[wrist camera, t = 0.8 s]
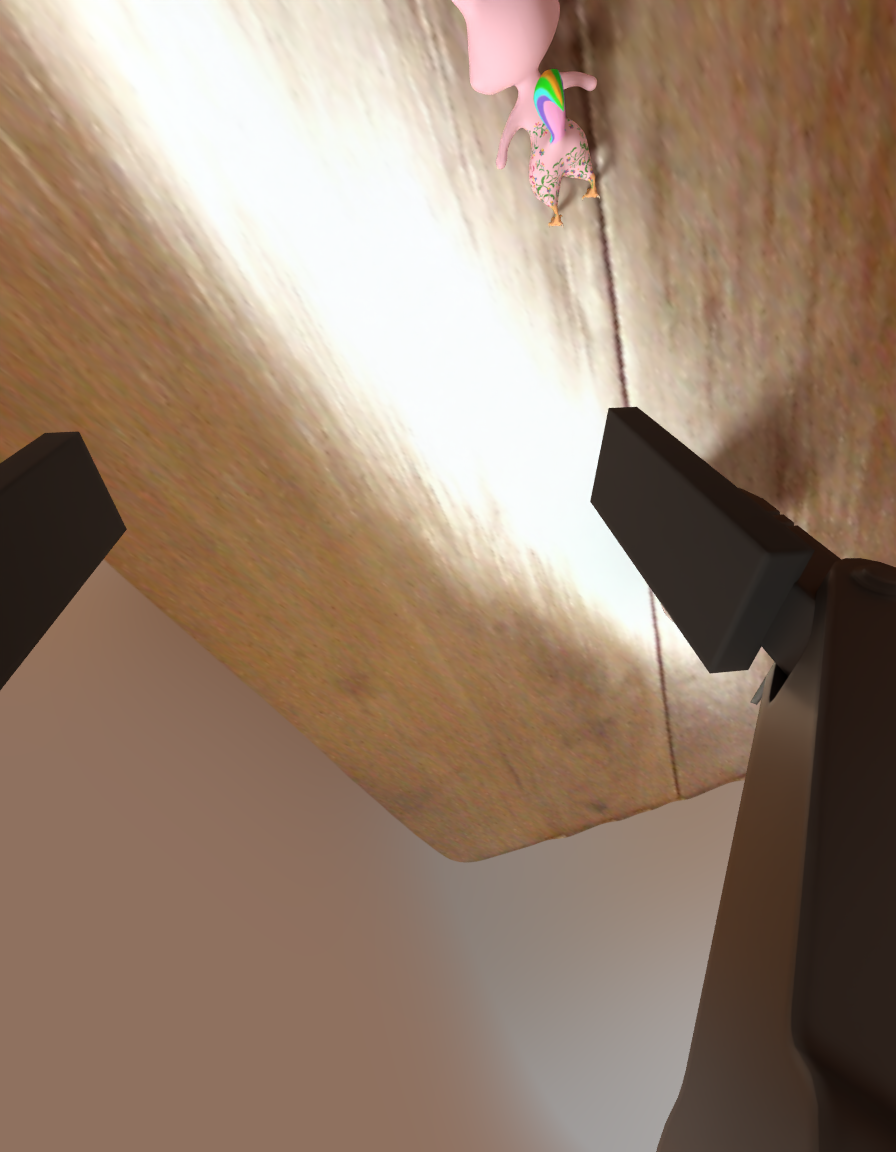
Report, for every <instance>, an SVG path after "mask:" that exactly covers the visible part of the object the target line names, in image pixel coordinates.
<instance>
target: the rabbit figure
mask: <svg viewBox="0 0 896 1152" xmlns="http://www.w3.org/2000/svg"><path fill="white" fill-rule="evenodd" d="M452 1H453V3H454V4H455V5H456V6H457V7H458V9H459V10H460V11H461V12H462V14H463V16H464V18H465V21H466V25H467V33H468V52H469V67H470V82H471V85H472V87H473V89H474V90H476V91H477V92H480V93H483V94H489V95H492V94H496V93H498V92H500V91H502V90H504V89H506V88H508V87H510V86H513V85H515V86H516V87H517V88H518V93H519V94H518V100H517V102H516V104H515V107H514V108H513V110H512V112H511V114H510V116H509V118H508V121H507V123H506V126H505V128H504V131H503V134H502V137H501V141H500V145H499V150H498V155H497V160H496V165H497V168H498V169H503V168H504V167H505V165H506V161H507V151H508V147H509V144H510V141H511V139H512V137H513V136H514V134H515V133H516V131H517V130H518V129H520V128H524V129H526V130H527V132H528V133H529V135H530V139H531V155H530V164H529V179H530V184H531V187H532V190H533V192H534V194H535V196H536V197H537V198H538V199H539V200H541V201H542V202H543V203H545V204H546V205H547V206H549V207H550V208H551V209H552V210H553V211H554V213H555V217H552V219H551V223H550V222H549V228H550V225H551V226H555V225H558V226H560V225H561V226H563V223H562V222H561V217H562V215H561V214H560V215H559V214H558V206H557V205H558V197H559V190H560V182H561V179H562V177H563V176H566V177H570V178H579V179H584V180H586V181H588V182H589V183H590V185H591V189H590V188H588V189H587V193H586V194H585V195H584V196H583V197H582V201H583V199H584V197H596V196H597V197H599V198H600V196H599V194H597V190H596V186H595V174H594V173H593V170H592V162H591V157H590V152H589V147H588V143H587V139H586V136H585V133H584V131H583V130H582V129H581V128H580V126H579V125H578V124H576V123H575V122H574V121H572V120H570V119H568V118H565V117H566V115H565V96H564V89H566V88H569V87H573V86H580V87H582V88H584V89H585V90H587V91H592V90H594V89H595V87H596V85H597V79H596V78H595V77H594V76H592V75H588V74H585V73H581V72H576V71H569V72H559V71H558V70H557V69H549V70H546V71H545V72H543V74H542V75H541V74H540V73H539V69H538V68H539V64H540V62H541V61H542V59H543V57H544V56H545V54H546V52H547V50H548V48H549V46H550V44H551V42H552V40H553V37H554V34H555V31H556V28H557V24H558V20H559V14H560V4H559V1H558V0H452ZM563 227H564V226H563Z"/></svg>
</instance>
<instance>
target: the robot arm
mask: <svg viewBox="0 0 896 1152" xmlns="http://www.w3.org/2000/svg"><path fill="white" fill-rule="evenodd" d="M590 502H591V503H592V505H593V506H594V507H595V509H596V510H597V512H598V513H599V515H600V516H601V518H602V519H603V520H604V522H605V523H606V525H607V526H608V528H609V529H610V530H611V532H612V533H613V535H614V536H615V538H616V539H617V541H618V542H619V543H620V545H621V546H622V548H623V549H624V551H625V552H626V553H627V555H628V556H629V558H630V559H631V561H632V562H633V564H634V565H635V566H636V568H637V569H638V571H639V572H640V574H641V575H642V577H643V578H644V579H645V581H646V582H647V584H648V585H649V587H650V588H651V589H652V591H653V592H654V594H655V595H656V597H657V598H658V600H659V601H660V602H661V604H662V605H663V607H664V608H665V610H666V611H667V612H668V614H669V615H670V617H671V618H672V620H673V621H674V623H675V624H676V625H677V627H678V628H679V630H680V631H681V633H682V634H683V635H684V637H685V638H686V640H687V641H688V643H689V644H690V646H691V647H692V648H693V650H694V651H695V653H696V654H697V656H698V657H699V659H700V660H701V661H702V663H703V664H704V666H705V667H706V669H707V670H708V671H709V673H719V672H730V671H741V670H748V669H749V668H750V666H751V664H752V662H753V660H754V659H755V657H756V655H757V653H758V651H759V650H760V648H761V646H762V647H763V649H764V650H765V651H766V652H767V653H768V654H769V656H770V657H771V658H772V659H773V660H774V661H775V662H774V664H773V665H772V667H771V669H770V670H769V672H768V674H767V675H766V677H765V679H764V680H763V682H762V684H761V685H760V687H759V689H758V690H757V692H756V694H755V695H754V697H753V699H752V700H751V703H754V704H756V705H757V704H758V703H759V701H760V700H761V704H760V709H759V714H758V719H757V724H756V729H755V733H754V738H753V743H752V748H751V753H750V758H749V763H748V768H747V773H746V778H745V783H744V788H743V792H742V797H741V803H740V807H739V812H738V817H737V822H736V827H735V832H734V837H733V842H732V847H731V852H730V857H729V862H728V866H727V871H726V876H725V881H724V886H723V891H722V896H721V900H720V905H719V910H718V915H717V920H716V925H715V930H714V935H713V940H712V945H711V950H710V954H709V960H708V964H707V970H706V974H705V980H704V984H703V989H702V994H701V999H700V1004H699V1008H698V1013H697V1019H696V1023H695V1028H694V1033H693V1038H692V1043H691V1048H690V1053H689V1058H688V1062H687V1067H686V1072H685V1076H684V1080H683V1084H682V1087H681V1090H680V1093H679V1096H678V1098H677V1100H676V1102H675V1105H674V1107H673V1109H672V1111H671V1113H670V1115H669V1117H668V1119H667V1121H666V1123H665V1126H664V1129H663V1132H662V1135H661V1138H660V1141H659V1144H658V1147H657V1151H656V1152H896V567H893V566H890V565H887V564H884V563H881V562H877V561H872V560H867V559H861V558H845V559H842V560H841V559H840V558H839V557H837V556H836V555H835V554H834V553H832V552H831V551H830V550H828V549H827V548H826V547H825V546H823V545H822V544H821V543H819V542H818V541H817V540H816V539H814V538H813V537H812V536H810V535H809V534H808V533H807V532H805V531H804V530H803V529H801V528H800V527H799V526H794V522H792V521H791V520H790V519H789V518H787V517H786V516H785V515H780V511H778V510H777V509H776V508H774V507H773V506H772V505H771V504H769V503H768V502H767V501H765V500H764V499H763V498H760V497H758V496H756V495H754V494H752V493H750V492H747V491H745V490H743V489H741V488H737V487H736V486H735V485H734V484H732V483H731V482H730V481H729V480H727V479H726V478H725V477H724V476H722V475H721V474H720V473H719V472H717V471H716V470H715V469H714V468H712V467H711V466H710V465H709V464H707V463H706V462H705V461H704V460H702V459H701V458H700V457H699V456H697V455H696V454H695V453H694V452H692V451H691V450H690V449H689V448H688V447H686V446H685V445H684V444H683V443H681V442H680V441H679V440H678V439H676V438H675V437H674V436H673V435H671V434H670V433H669V432H668V431H666V430H665V429H664V428H663V427H661V426H660V425H659V424H658V423H656V422H655V421H654V420H653V419H651V418H650V417H649V416H648V415H646V414H645V413H644V412H643V411H641V410H640V409H639V408H638V407H624V408H609V409H608V414H607V419H606V425H605V430H604V435H603V440H602V445H601V450H600V455H599V460H598V465H597V470H596V475H595V481H594V486H593V491H592V496H591V501H590ZM126 530H127V529H126V527H125V525H124V523H123V521H122V519H121V517H120V515H119V513H118V511H117V509H116V506H115V504H114V502H113V500H112V498H111V496H110V494H109V492H108V490H107V488H106V486H105V484H104V482H103V480H102V478H101V476H100V474H99V472H98V470H97V468H96V466H95V464H94V462H93V459H92V457H91V455H90V453H89V451H88V449H87V447H86V445H85V443H84V441H83V439H82V437H81V435H80V433H79V432H59V433H44V434H43V435H41V436H40V437H39V438H37V439H36V440H34V441H33V442H31V443H30V444H28V445H27V446H25V447H24V448H22V449H21V450H19V451H18V452H17V453H15V454H14V455H12V456H11V457H9V458H8V459H6V460H5V461H3V462H2V463H0V690H1V689H2V687H3V686H4V685H5V684H6V682H7V681H8V680H9V678H10V677H11V676H12V675H13V673H14V672H15V671H16V670H17V668H18V667H19V666H20V665H21V663H22V662H23V661H24V659H25V658H26V657H27V656H28V654H29V653H30V652H31V651H32V649H33V648H34V647H35V645H36V644H37V643H38V642H39V640H40V639H41V638H42V637H43V635H44V634H45V633H46V631H47V630H48V629H49V628H50V626H51V625H52V624H53V623H54V621H55V620H56V619H57V617H58V616H59V615H60V613H61V612H62V611H63V610H64V609H65V607H66V606H67V605H68V603H69V602H70V601H71V600H72V598H73V597H74V596H75V595H76V593H77V592H78V591H79V589H80V588H81V587H82V585H83V584H84V583H85V582H86V580H87V579H88V578H89V577H90V575H91V574H92V573H93V572H94V570H95V569H96V568H97V566H98V565H99V564H100V563H101V561H102V560H103V559H104V558H105V556H106V555H107V554H108V552H109V551H110V550H111V549H112V547H113V546H114V545H115V544H116V542H117V541H118V540H119V538H120V537H121V536H122V535H123V533H124V532H125V531H126ZM761 698H762V699H761Z"/></svg>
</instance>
